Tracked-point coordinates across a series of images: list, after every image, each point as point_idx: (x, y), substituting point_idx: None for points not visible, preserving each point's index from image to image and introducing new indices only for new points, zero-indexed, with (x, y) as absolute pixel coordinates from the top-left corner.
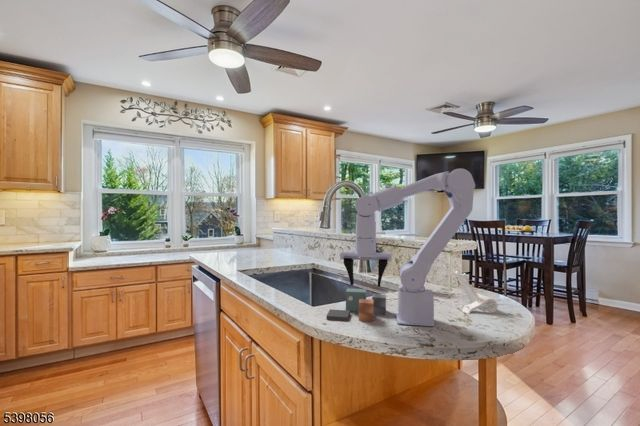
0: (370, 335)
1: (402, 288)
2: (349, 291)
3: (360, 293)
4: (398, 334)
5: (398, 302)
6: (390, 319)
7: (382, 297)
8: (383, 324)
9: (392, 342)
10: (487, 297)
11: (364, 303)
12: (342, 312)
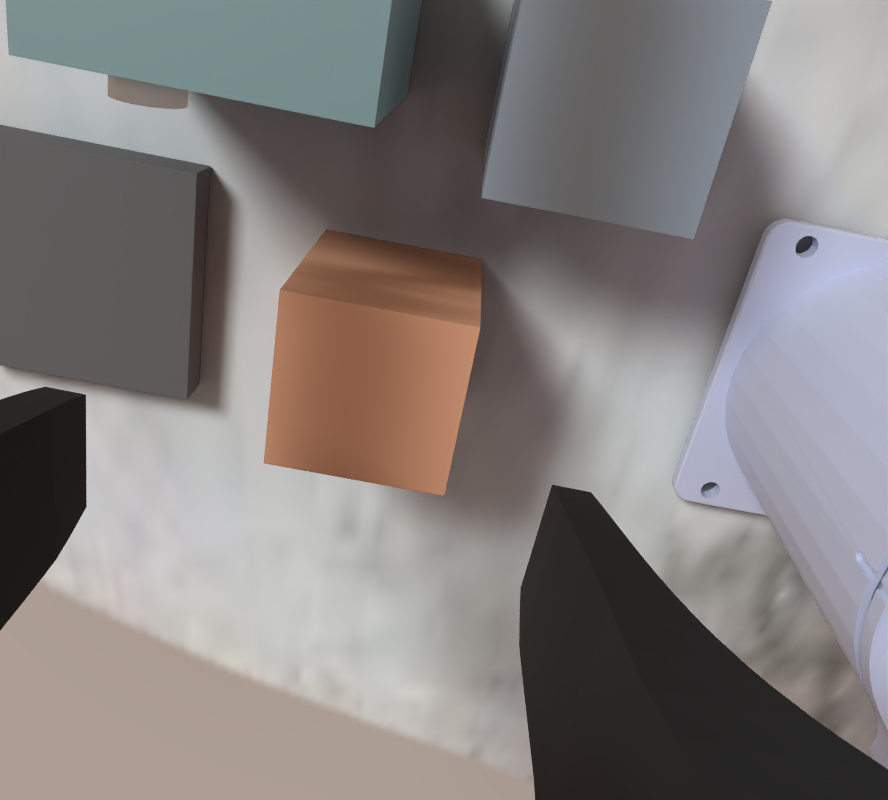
0: (386, 668)
1: (884, 729)
2: (75, 50)
3: (287, 105)
4: None
5: (786, 477)
6: (647, 347)
7: (648, 209)
8: (537, 474)
9: (517, 760)
10: None
11: (337, 474)
12: (113, 247)
